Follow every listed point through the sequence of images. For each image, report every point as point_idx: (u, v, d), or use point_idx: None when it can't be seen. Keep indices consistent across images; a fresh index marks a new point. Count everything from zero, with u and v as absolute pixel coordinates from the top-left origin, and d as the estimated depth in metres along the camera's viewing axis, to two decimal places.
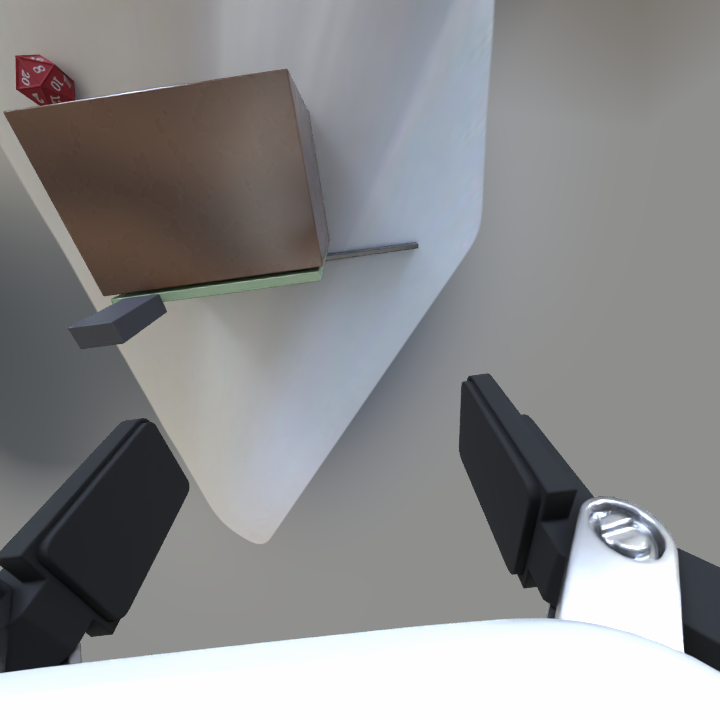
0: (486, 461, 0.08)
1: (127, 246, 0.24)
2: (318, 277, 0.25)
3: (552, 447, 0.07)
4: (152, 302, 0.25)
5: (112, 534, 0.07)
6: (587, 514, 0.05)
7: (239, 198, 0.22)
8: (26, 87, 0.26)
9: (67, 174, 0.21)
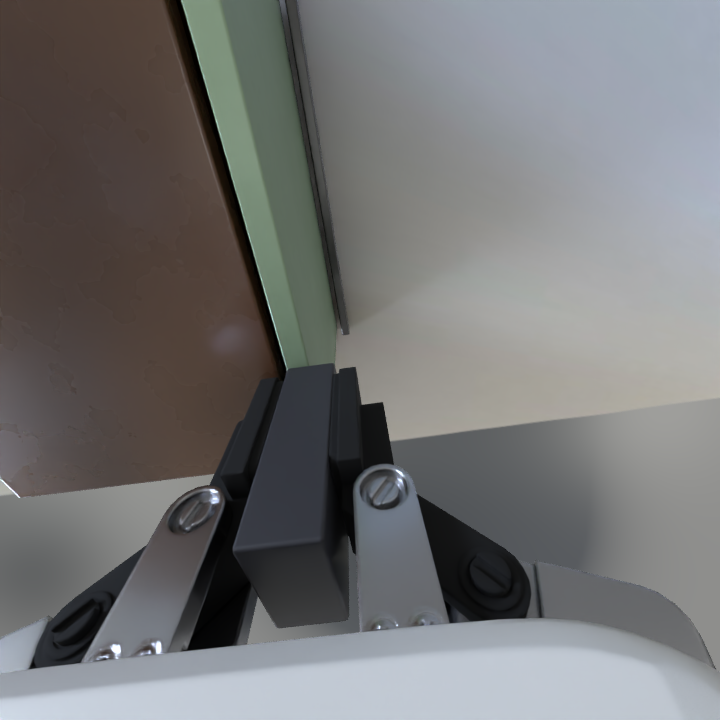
0: None
1: (185, 400, 0.11)
2: None
3: (385, 428, 0.08)
4: (290, 388, 0.09)
5: None
6: (364, 477, 0.06)
7: None
8: None
9: (77, 453, 0.12)
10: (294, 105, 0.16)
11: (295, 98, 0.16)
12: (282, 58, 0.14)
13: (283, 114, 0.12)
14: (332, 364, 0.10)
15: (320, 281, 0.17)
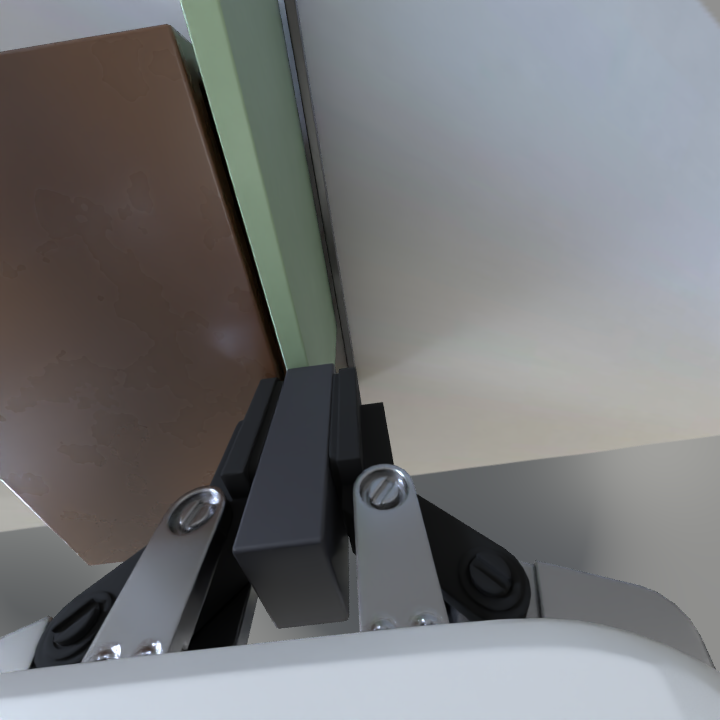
0: None
1: None
2: None
3: (385, 428, 0.08)
4: (290, 389, 0.09)
5: None
6: (364, 477, 0.06)
7: (56, 296, 0.09)
8: None
9: (141, 533, 0.14)
10: (293, 105, 0.16)
11: (294, 98, 0.16)
12: (281, 58, 0.14)
13: (282, 114, 0.12)
14: (332, 364, 0.10)
15: (320, 281, 0.17)
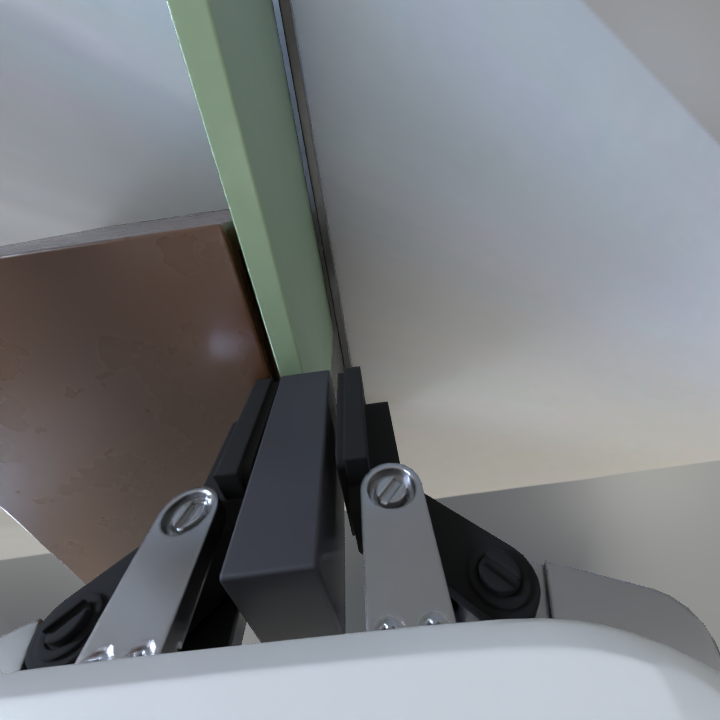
0: None
1: None
2: None
3: (390, 428, 0.08)
4: (284, 398, 0.09)
5: None
6: (371, 476, 0.06)
7: (109, 410, 0.10)
8: None
9: None
10: (288, 104, 0.15)
11: (289, 97, 0.16)
12: (275, 55, 0.13)
13: (276, 113, 0.12)
14: (327, 371, 0.10)
15: (315, 284, 0.16)
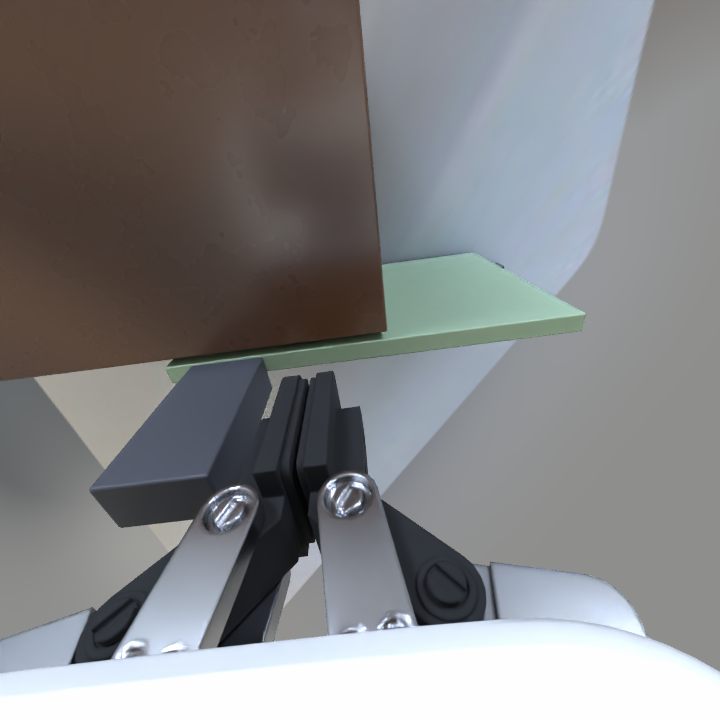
0: None
1: None
2: (581, 325, 0.13)
3: (358, 433, 0.08)
4: (257, 380, 0.12)
5: None
6: (330, 484, 0.06)
7: (216, 194, 0.10)
8: None
9: None
10: None
11: None
12: None
13: None
14: (271, 389, 0.13)
15: None
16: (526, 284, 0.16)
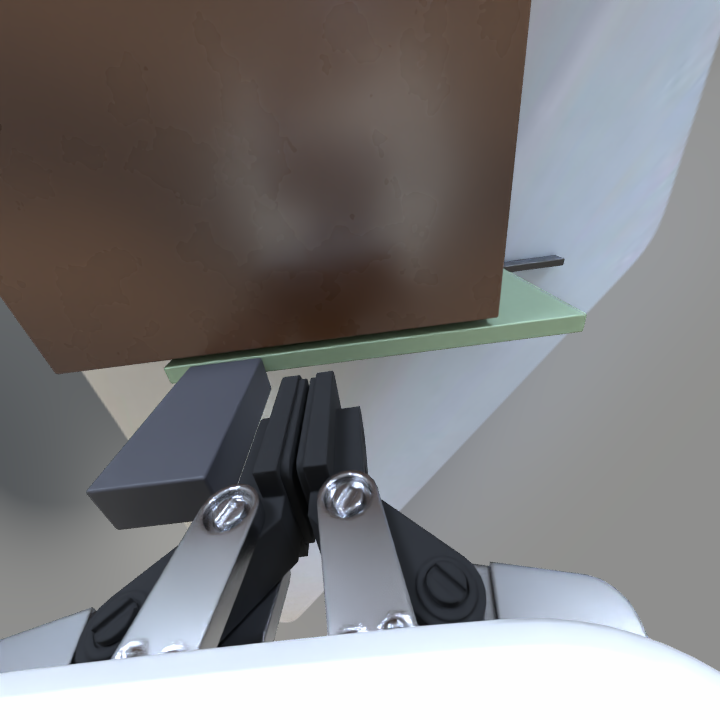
0: None
1: (99, 280, 0.11)
2: (582, 325, 0.13)
3: (358, 433, 0.08)
4: (256, 380, 0.12)
5: None
6: (330, 484, 0.06)
7: (354, 174, 0.10)
8: None
9: None
10: None
11: None
12: None
13: None
14: (270, 389, 0.13)
15: None
16: (526, 284, 0.16)
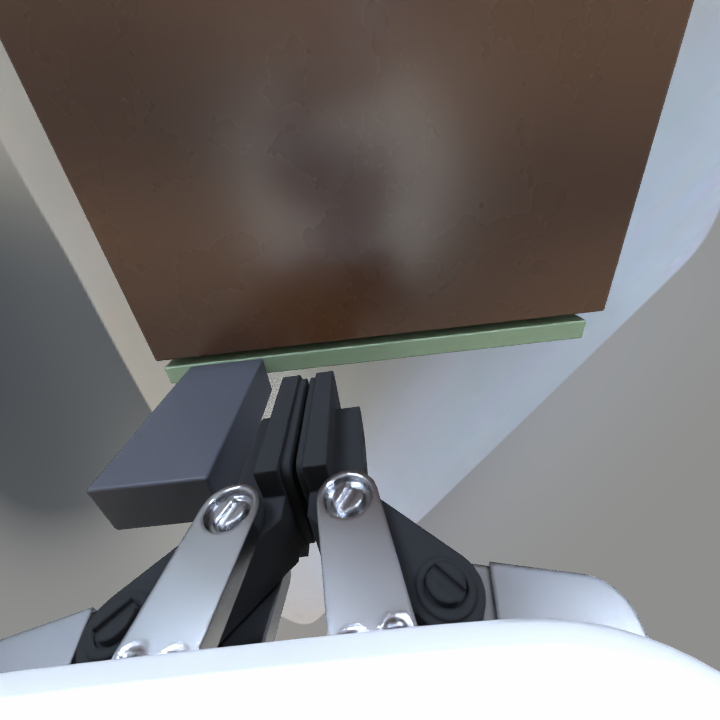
0: None
1: (219, 265, 0.11)
2: (581, 331, 0.13)
3: (358, 433, 0.08)
4: (257, 381, 0.12)
5: None
6: (329, 484, 0.06)
7: (492, 163, 0.10)
8: None
9: (99, 89, 0.09)
10: None
11: None
12: None
13: None
14: None
15: None
16: None
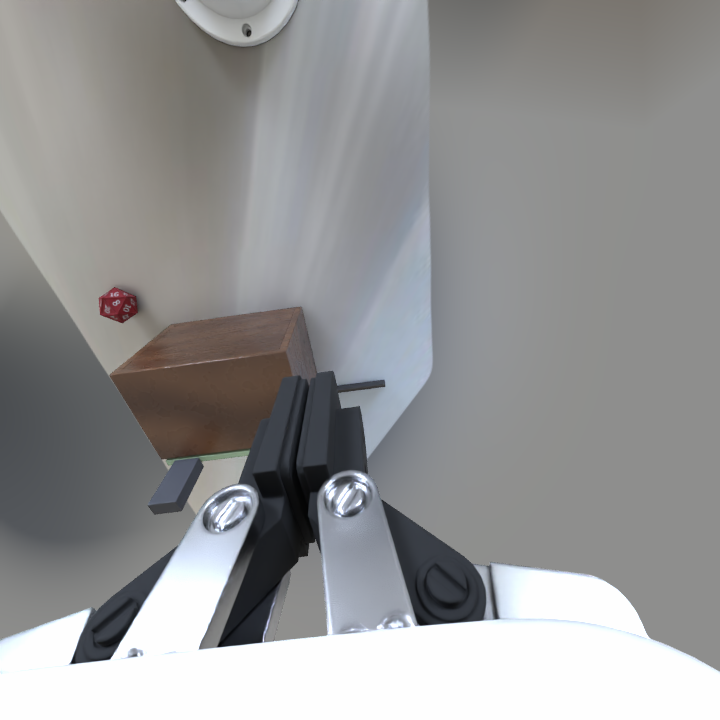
0: None
1: (180, 434, 0.36)
2: None
3: (358, 433, 0.08)
4: (195, 467, 0.36)
5: None
6: (330, 484, 0.06)
7: (255, 409, 0.34)
8: (107, 314, 0.38)
9: (145, 401, 0.33)
10: None
11: None
12: None
13: None
14: None
15: None
16: None
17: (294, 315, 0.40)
